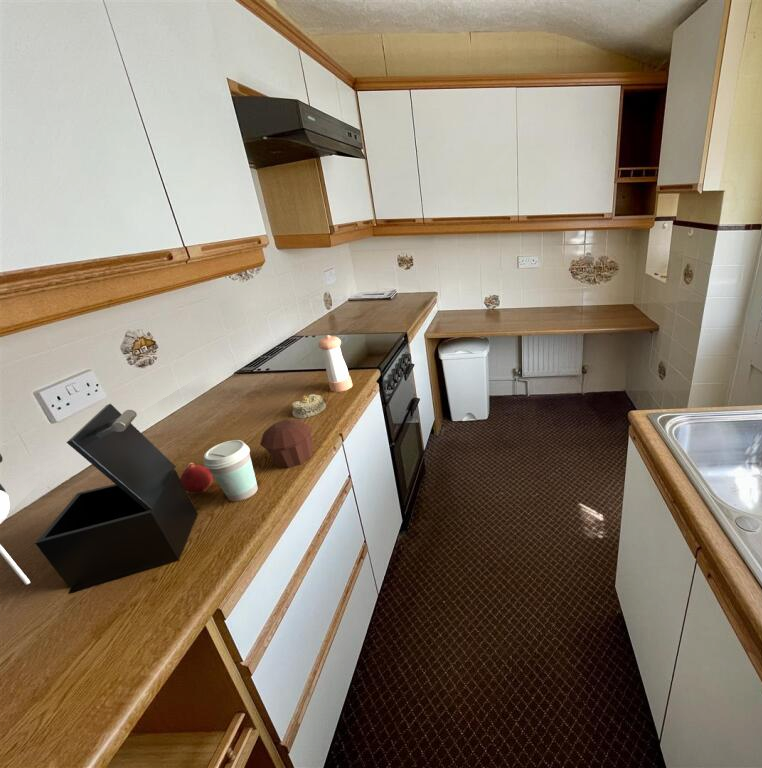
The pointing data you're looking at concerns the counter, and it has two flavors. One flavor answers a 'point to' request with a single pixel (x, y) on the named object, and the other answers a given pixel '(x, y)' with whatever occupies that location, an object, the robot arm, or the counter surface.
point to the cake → (308, 406)
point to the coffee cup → (232, 469)
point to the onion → (196, 478)
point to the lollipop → (0, 512)
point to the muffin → (288, 442)
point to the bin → (117, 534)
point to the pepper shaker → (335, 364)
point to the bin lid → (124, 455)
